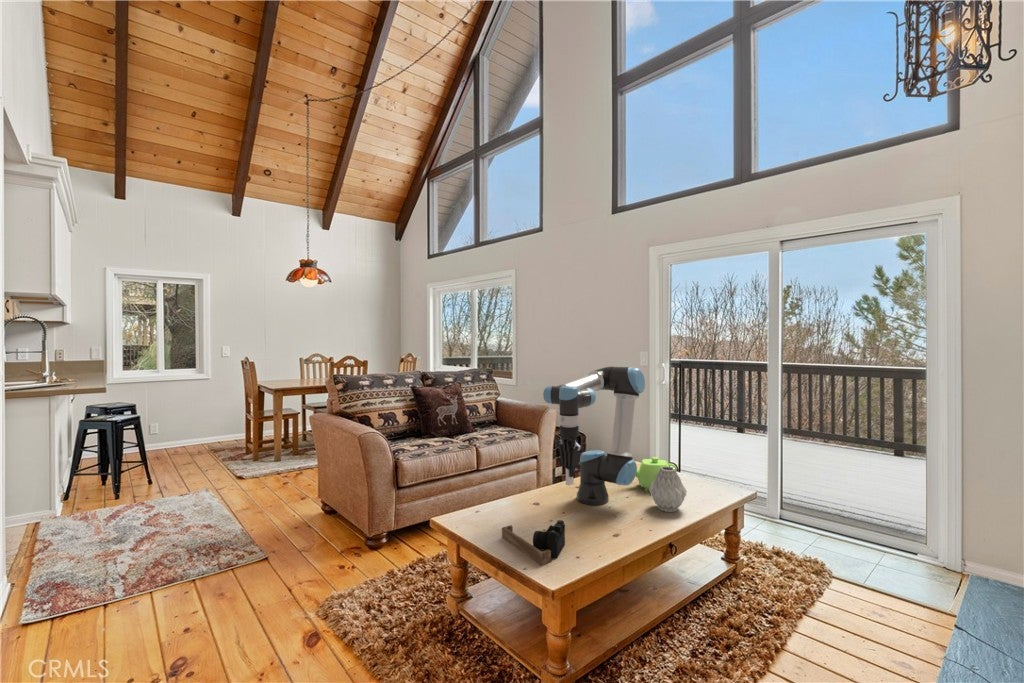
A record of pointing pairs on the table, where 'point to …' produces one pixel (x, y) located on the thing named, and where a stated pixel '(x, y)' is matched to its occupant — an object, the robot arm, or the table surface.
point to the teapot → (650, 471)
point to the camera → (551, 539)
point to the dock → (526, 546)
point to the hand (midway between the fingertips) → (569, 484)
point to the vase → (667, 490)
